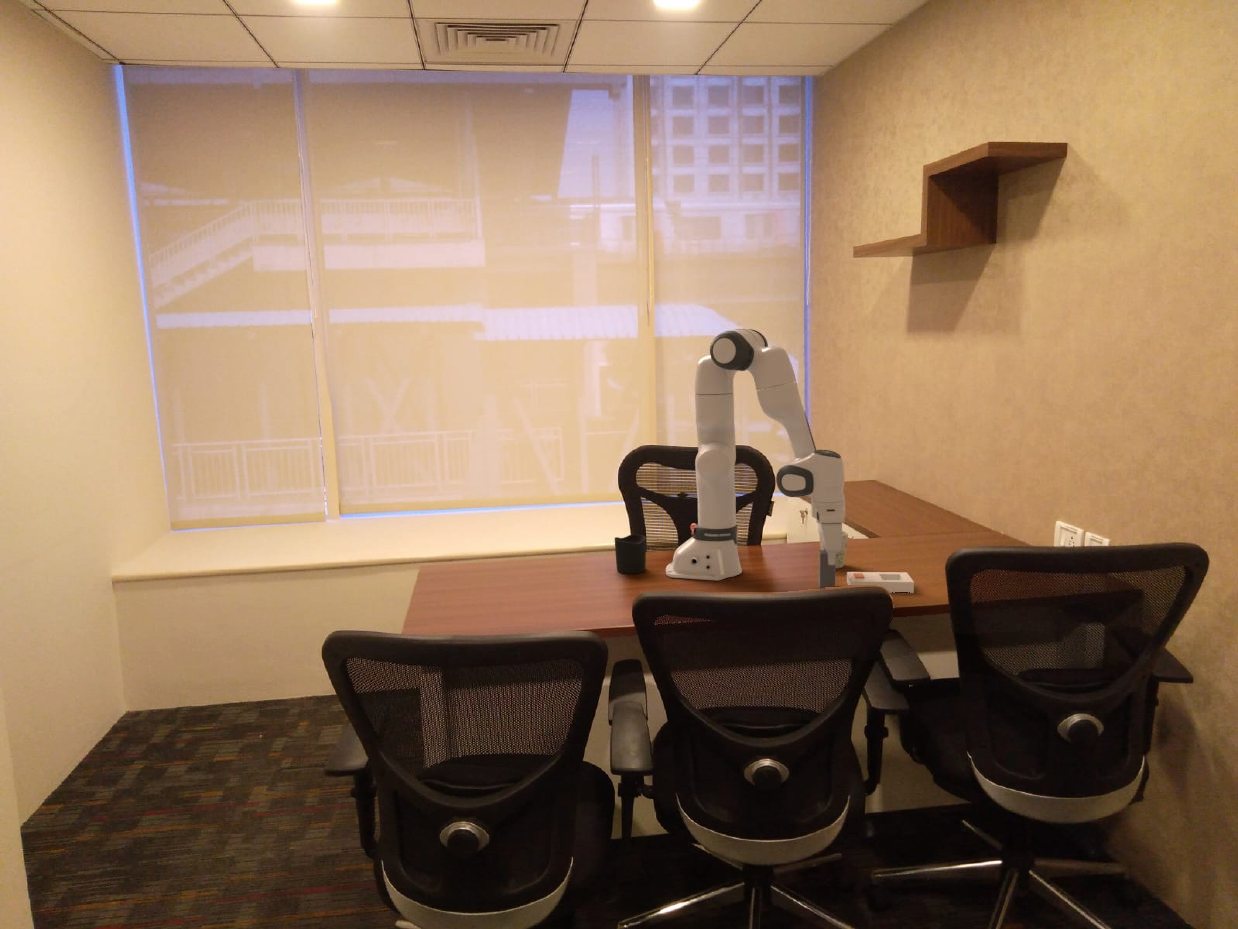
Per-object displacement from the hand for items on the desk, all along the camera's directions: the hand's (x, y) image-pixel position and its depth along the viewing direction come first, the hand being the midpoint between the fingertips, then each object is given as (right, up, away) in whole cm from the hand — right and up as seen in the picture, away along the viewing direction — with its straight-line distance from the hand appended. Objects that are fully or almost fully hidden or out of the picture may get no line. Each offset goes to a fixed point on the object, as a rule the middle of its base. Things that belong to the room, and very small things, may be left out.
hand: (829, 559), depth 219 cm
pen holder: (-54, -6, +24) cm, 59 cm away
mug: (+6, -5, +20) cm, 21 cm away
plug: (0, -8, +2) cm, 8 cm away
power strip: (+14, -8, 0) cm, 16 cm away
